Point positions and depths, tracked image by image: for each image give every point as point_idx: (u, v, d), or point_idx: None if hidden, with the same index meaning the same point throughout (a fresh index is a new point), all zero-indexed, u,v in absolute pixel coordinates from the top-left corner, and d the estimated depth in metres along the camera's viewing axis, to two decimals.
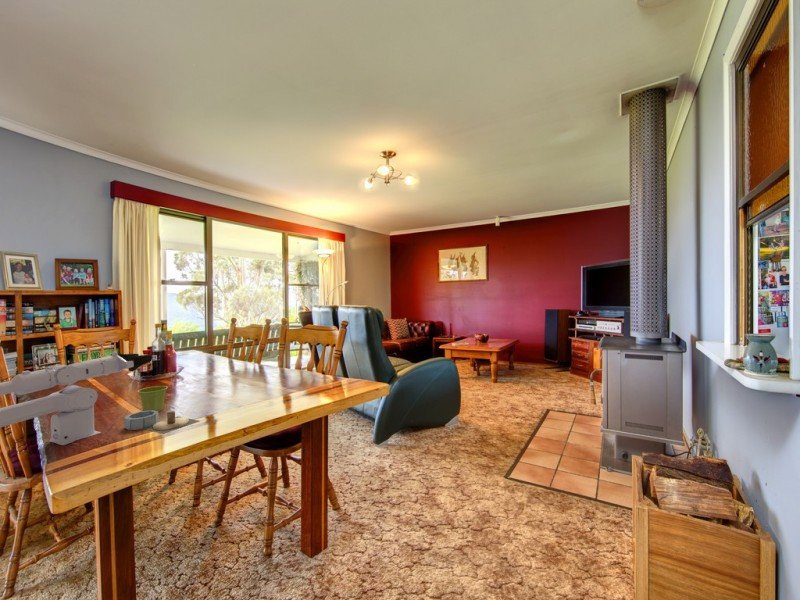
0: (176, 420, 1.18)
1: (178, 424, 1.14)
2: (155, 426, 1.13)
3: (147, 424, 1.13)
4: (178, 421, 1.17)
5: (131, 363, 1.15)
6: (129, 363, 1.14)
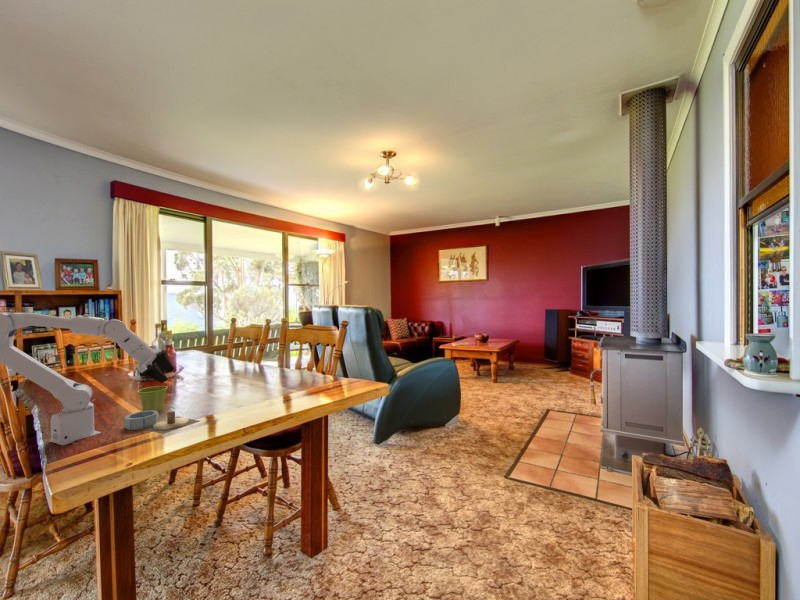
0: (176, 420, 1.18)
1: (178, 424, 1.14)
2: (155, 426, 1.13)
3: (147, 424, 1.13)
4: (178, 421, 1.17)
5: (143, 369, 1.13)
6: (142, 368, 1.12)
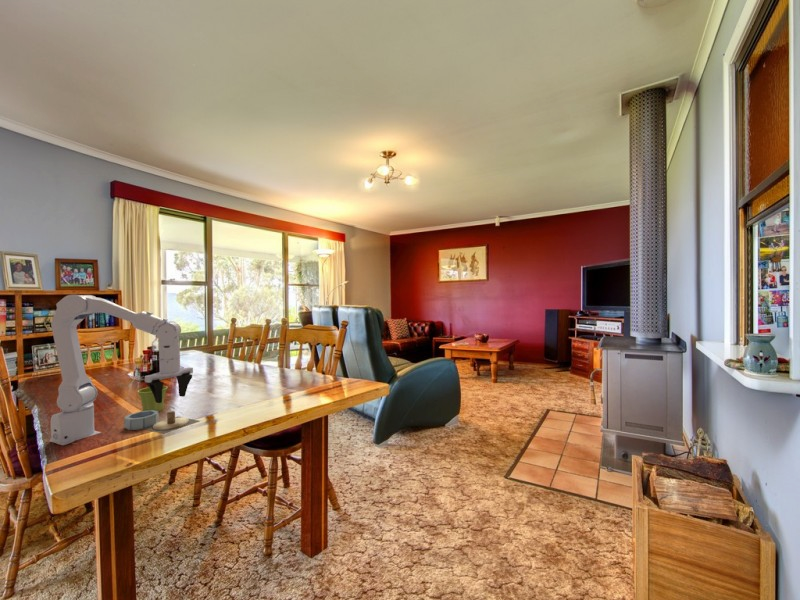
0: (176, 420, 1.18)
1: (178, 424, 1.14)
2: (155, 426, 1.13)
3: (147, 424, 1.13)
4: (178, 421, 1.17)
5: (147, 380, 1.09)
6: (147, 378, 1.09)
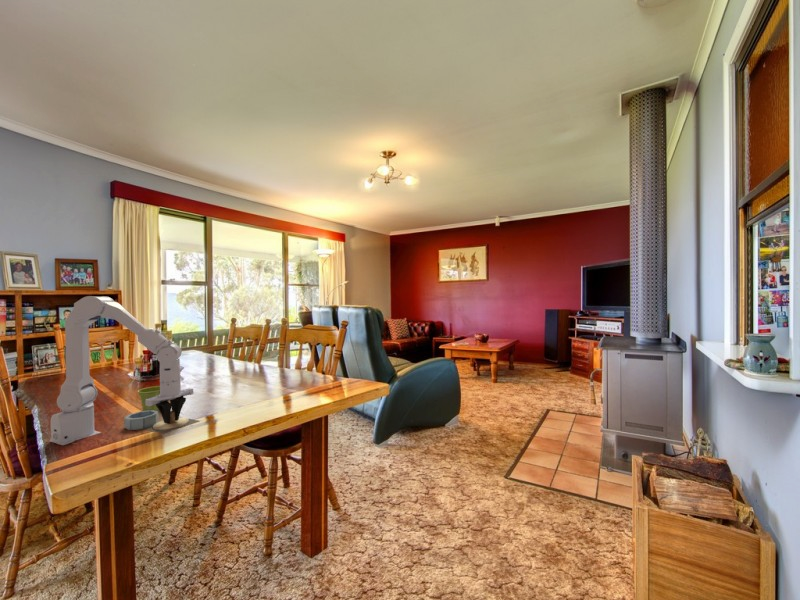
0: None
1: (178, 424, 1.14)
2: (155, 426, 1.13)
3: (147, 424, 1.13)
4: (178, 421, 1.17)
5: (148, 404, 1.09)
6: (147, 402, 1.09)
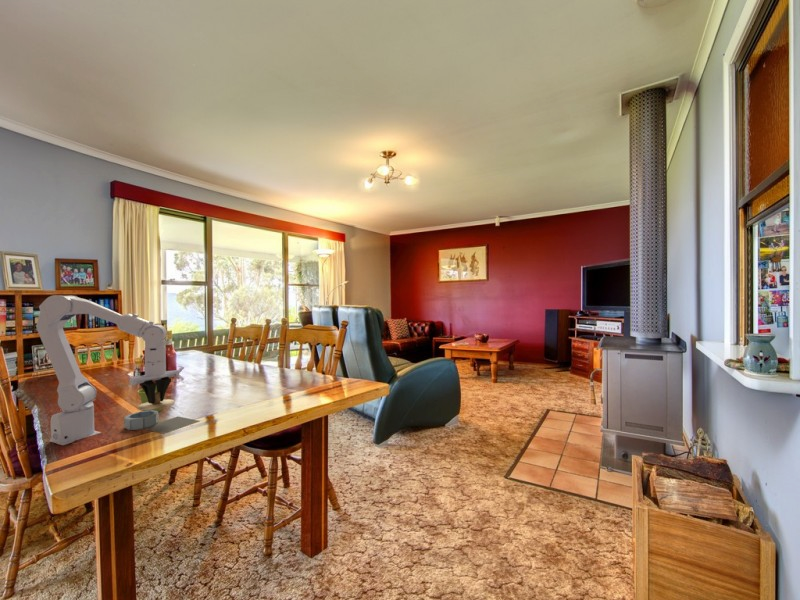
0: (161, 401, 1.18)
1: (163, 404, 1.14)
2: (140, 406, 1.12)
3: (147, 424, 1.13)
4: (163, 402, 1.17)
5: (132, 383, 1.09)
6: (131, 381, 1.09)
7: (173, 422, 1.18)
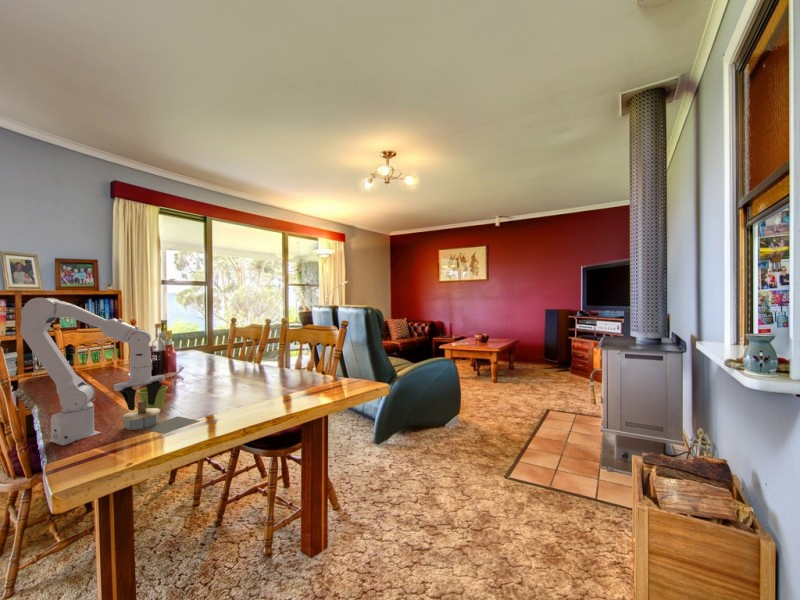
0: (147, 410, 1.18)
1: (149, 414, 1.14)
2: (125, 416, 1.12)
3: (147, 424, 1.13)
4: (149, 411, 1.17)
5: (116, 389, 1.09)
6: (116, 387, 1.09)
7: (173, 422, 1.18)
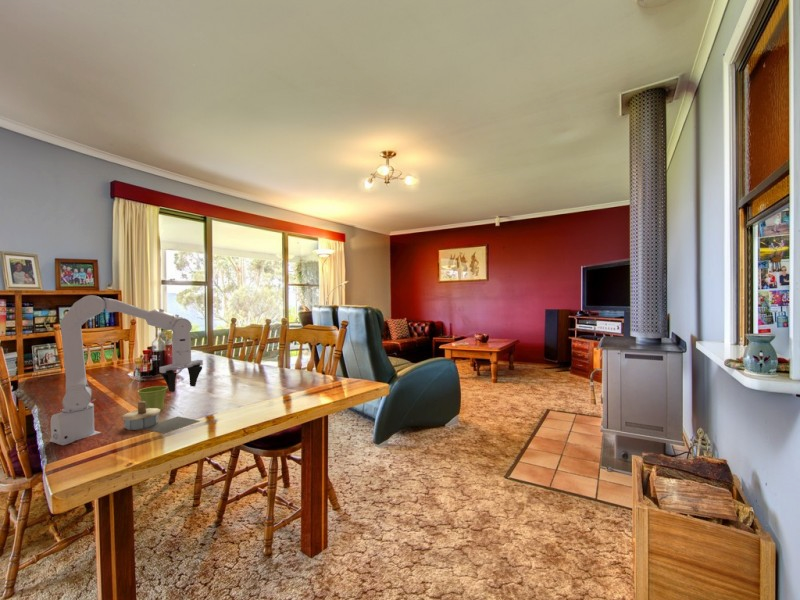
0: (147, 410, 1.18)
1: (149, 414, 1.14)
2: (125, 416, 1.12)
3: (147, 424, 1.13)
4: (149, 411, 1.17)
5: (162, 371, 1.19)
6: (161, 369, 1.19)
7: (173, 422, 1.18)
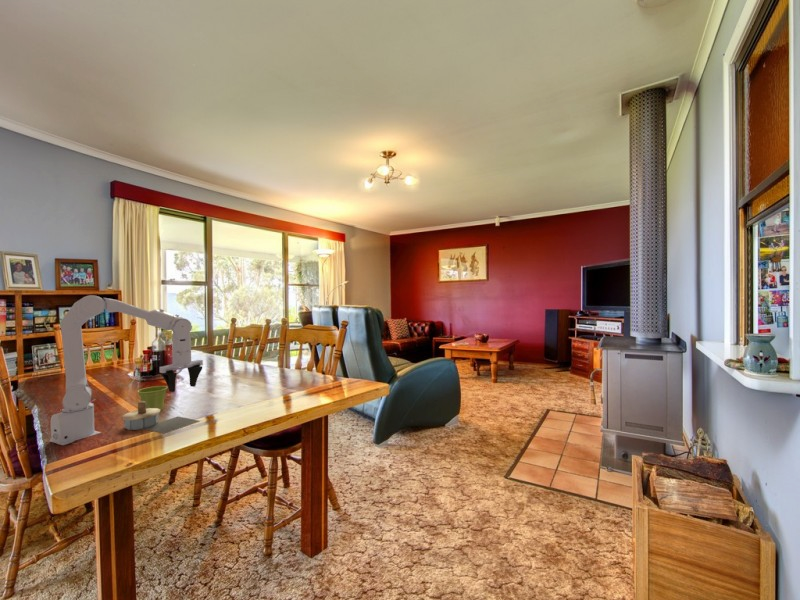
0: (147, 410, 1.18)
1: (149, 414, 1.14)
2: (125, 416, 1.12)
3: (147, 424, 1.13)
4: (149, 411, 1.17)
5: (162, 371, 1.19)
6: (161, 369, 1.19)
7: (173, 422, 1.18)
